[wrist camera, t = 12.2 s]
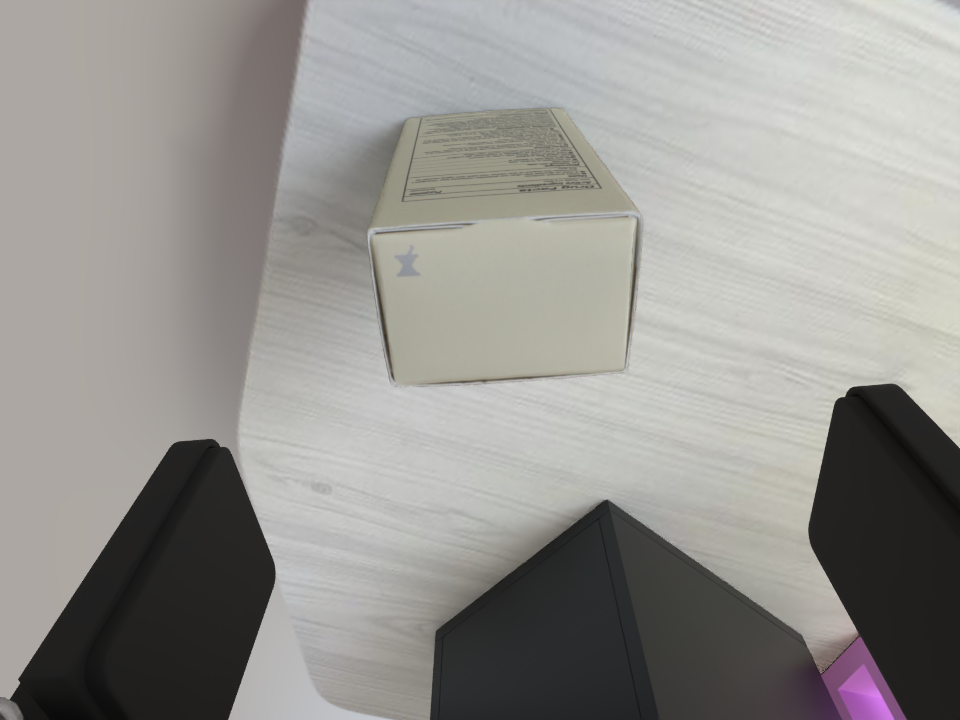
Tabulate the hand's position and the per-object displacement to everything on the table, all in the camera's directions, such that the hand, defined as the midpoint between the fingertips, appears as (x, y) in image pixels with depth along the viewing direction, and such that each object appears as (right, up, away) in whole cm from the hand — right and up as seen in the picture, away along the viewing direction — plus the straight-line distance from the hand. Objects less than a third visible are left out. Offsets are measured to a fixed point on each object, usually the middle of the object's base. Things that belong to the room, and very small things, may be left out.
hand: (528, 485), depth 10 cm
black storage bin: (+8, -15, +30) cm, 35 cm away
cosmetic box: (0, +10, +15) cm, 18 cm away
